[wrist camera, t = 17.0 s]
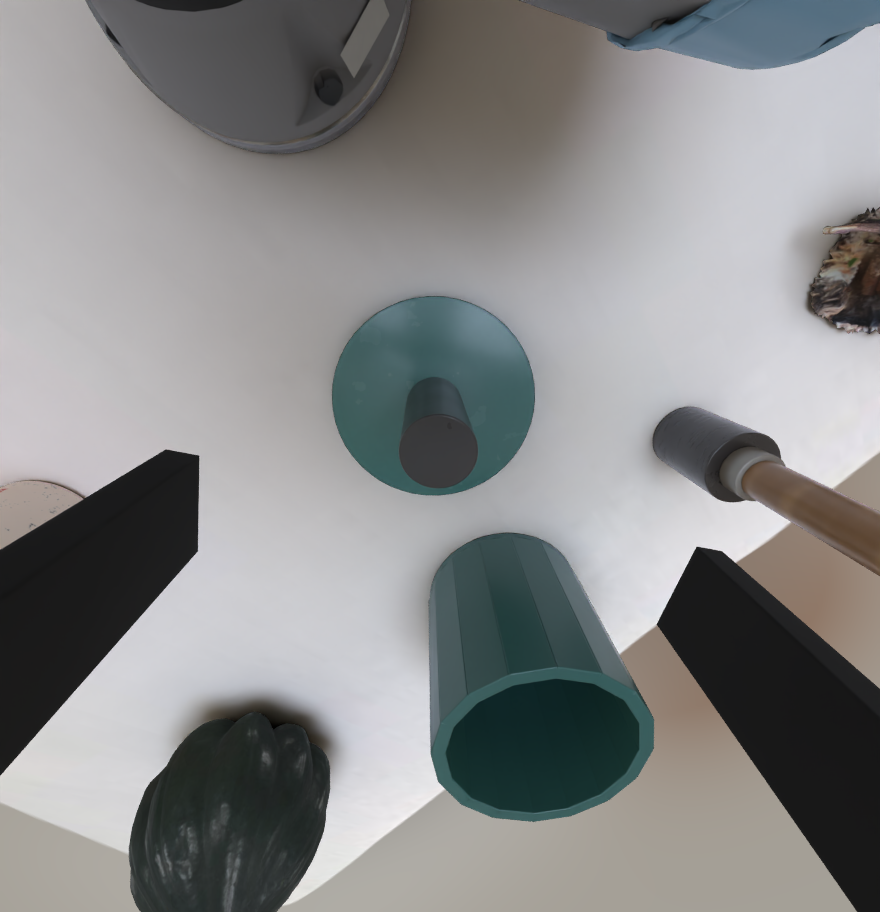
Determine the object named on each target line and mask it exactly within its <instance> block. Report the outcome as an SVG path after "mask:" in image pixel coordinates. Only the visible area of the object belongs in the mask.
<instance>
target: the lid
mask: <svg viewBox="0 0 880 912" xmlns="http://www.w3.org/2000/svg"><path fill="white" fill-rule="evenodd" d="M534 402H535V387H534V380H533V374H532V370H531V367H530V364H529V361H528V358H527V356H526V354H525V352H524V350H523V348H522V346H521V345H520V343H519V342H518V340H517V339H516V337H515V336H514V335H513V333H512V332H511V331H510V330H509V329H508V328H507V326H505V325H504V324H503V323H502V322H501V321H500V320H499V319H497V318H496V317H495V316H493V315H492V314H490V313H489V312H487V311H486V310H484V309H482V308H480V307H478V306H476V305H474V304H472V303H469V302H466V301H463V300H459V299H455V298H449V297H439V296H427V297H418V298H412V299H409V300H405V301H401V302H398V303H396V304H394V305H391V306H389V307H387V308H385V309H383V310H382V311H380V312H378V313H377V314H375V315H374V316H373V317H371V318H370V319H369V320H368V321H366V322H365V323H364V324H363V325H362V326H361V327H360V328H359V329H358V330H357V331H356V332H355V333H354V335H353V336H352V338H351V339H350V340H349V342H348V343H347V345H346V347H345V349H344V350H343V352H342V354H341V356H340V359H339V362H338V364H337V367H336V370H335V375H334V380H333V389H332V404H333V412H334V417H335V422H336V425H337V428H338V431H339V434H340V436H341V438H342V440H343V442H344V444H345V446H346V447H347V449H348V450H349V452H350V453H351V455H352V456H353V457H354V458H355V460H356V461H357V462H358V463H359V464H360V465H361V466H362V467H363V468H364V469H365V470H366V471H368V472H369V473H370V474H371V475H373V476H374V477H375V478H377V479H378V480H380V481H382V482H383V483H385V484H387V485H389V486H391V487H394V488H396V489H399V490H402V491H405V492H409V493H413V494H420V495H446V494H453V493H457V492H461V491H465V490H467V489H470V488H473V487H475V486H477V485H479V484H481V483H483V482H485V481H487V480H488V479H490V478H491V477H492V476H494V475H495V474H497V473H498V472H499V471H500V470H501V469H502V468H504V467H505V466H506V465H507V463H508V462H509V461H510V460H511V459H512V458H513V457H514V455H515V454H516V452H517V451H518V450H519V448H520V447H521V445H522V443H523V441H524V439H525V437H526V435H527V432H528V430H529V427H530V425H531V420H532V416H533V412H534Z"/></svg>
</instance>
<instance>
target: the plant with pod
mask: <svg viewBox="0 0 880 912" xmlns="http://www.w3.org/2000/svg"><path fill="white" fill-rule="evenodd" d="M823 234H842V238H841V239H840V240H839V241H838V242H837V243H836V245H835V246H834V247H833V248H832V249H831V250H830V251H829V252H830V254H831V256H832V257H833V259H829V260H824V261H823V263H824V265H825V266H823V267H822V268H821V270H822V271H823V272H821V273H819V275H820V276H821V277H822V278H816V277H815V281H816V282H815V283H814V284H812V285H811V286H812V287H814V288H815V290H813V291H812V292H810V294H811V295H812V297H813V298H812V301H811V305H812V306H813V307H812V308H813V309H815V311H816V312H815V314H816V313H817V312H818V316H819V315H821V314H822V319H823V318H824V317H825V316H826V318H828V320H829V321H833V324H837V328H841V327H844V329H845V330H846V331H847V333H848V334H849V333H850V332H851V331H852V333H853V331H854V330H855V331H857V332H859V331H860V330H862V331H865V332H867V333H869V334H870V333H871V332H872V331H873V330H875V329H876V330H877V331H878V332H879V334H880V207H879V208H878V209H877V210H876V211H875V209H874V208H873V209H872V211H871V213H870V211H869V209H868V208H867V210H866V212H865V213H864V214H861V215H858V218H857V220H852V224H848V225H842V226H833V227H831V226H826V227H825V228H823ZM825 320H826V319H825Z"/></svg>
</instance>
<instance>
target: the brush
mask: <svg viewBox="0 0 880 912" xmlns="http://www.w3.org/2000/svg"><path fill="white" fill-rule="evenodd" d="M653 447H654V451H655V453H656V455H657V456H658V458H659V459H661V460H662V461H663V462H665V463H666V464H667V465H669V466H670V467H672V468H673V469H675V470H676V471H678V472H679V473H680V474H682V475H683V476H685V477H686V478H688V479H689V480H691V481H692V482H693V483H695V484H696V485H698V486H699V487H701V488H702V489H704V490H705V491H706V492H708V493H709V494H711V495H712V496H714V497H715V498H717V499H719V500H721V501H725V502H740V501H745V500H748V501H758V502H760V503H762V504H763V505H765V506H766V507H768V508H770V509H771V510H773V511H775V512H776V513H778V514H779V515H781V516H783V517H784V518H786V519H788V520H789V521H791V522H792V523H794V524H796V525H797V526H799V527H801V528H802V529H804V530H806V531H807V532H809V533H810V534H812V535H814V536H815V537H817V538H818V539H820V540H822V541H823V542H825V543H827V544H829V545H830V546H831V547H833V548H835V549H837V550H838V551H840V552H841V553H843V554H844V555H846V556H848V557H849V558H851V559H853V560H854V561H856V562H858V563H859V564H861V565H862V566H864V567H866V568H867V569H869V570H871V571H872V572H874V573H875V574H877V575H879V576H880V512H879V511H878V510H875V509H873V508H871V507H869V506H867V505H865V504H863V503H861V502H858V501H856V500H854V499H852V498H850V497H848V496H846V495H844V494H842V493H839V492H837V491H835V490H833V489H831V488H829V487H827V486H825V485H823V484H820V483H818V482H816V481H814V480H812V479H810V478H808V477H806V476H803V475H801V474H799V473H797V472H795V471H793V470H791V469H789V468H787V467H786V466H785V464H784V462H783V461H782V460H781V455H780V450H779V448H778V446H777V444H776V443H775V441H774V440H773V439H771V438H770V437H769V436H767V435H765V434H762V433H760V432H757V431H755V430H752V429H750V428H747V427H745V426H742V425H740V424H737V423H735V422H733V421H730V420H728V419H725V418H723V417H720V416H718V415H715V414H713V413H710V412H708V411H705V410H703V409H700V408H697V407H684V408H680V409H677V410H675V411H673V412H671V413H670V414H668V415H667V416H666V417H665V418H664V419H663V420H662V421H661V422H660V423H659V425H658V427H657V428H656V430H655V433H654V437H653Z"/></svg>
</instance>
